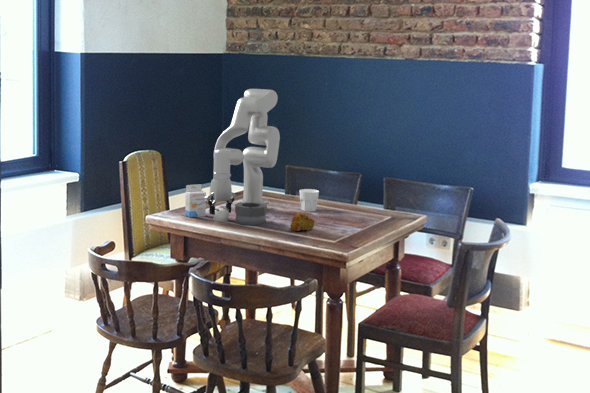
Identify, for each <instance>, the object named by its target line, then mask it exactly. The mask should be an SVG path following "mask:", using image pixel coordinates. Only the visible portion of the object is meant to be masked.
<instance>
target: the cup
mask: <svg viewBox="0 0 590 393" xmlns="http://www.w3.org/2000/svg"><path fill="white" fill-rule="evenodd" d="M319 194H320V191H319V190H317V189H314V188H313V189H312V188H304V189H299V200H300V201H299V202H300V203H299V205H300V211H304V212H310V211H311V212H317V208H318V201H319Z"/></svg>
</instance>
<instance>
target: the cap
mask: <svg viewBox="0 0 590 393" xmlns="http://www.w3.org/2000/svg"><path fill="white" fill-rule="evenodd" d="M229 216H230V213H229V209H228V208H226V206H225V207H222V208H220V207H219V208H215V215H213V222H219V223H223V222H224V223H225V222H229V221H230V220H229Z"/></svg>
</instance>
